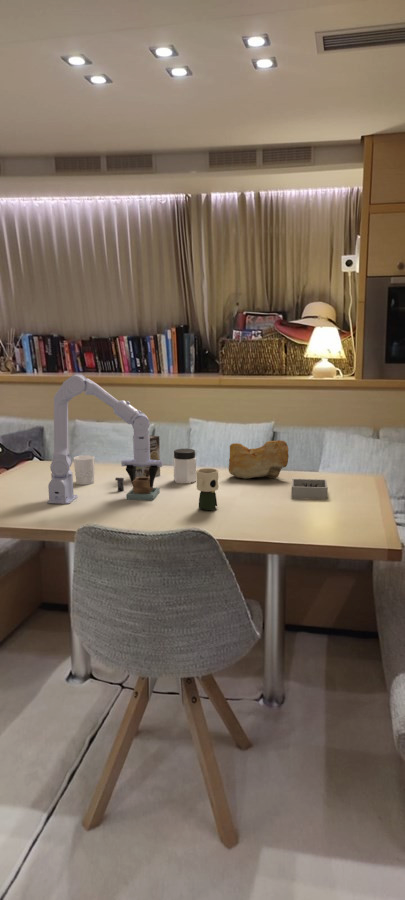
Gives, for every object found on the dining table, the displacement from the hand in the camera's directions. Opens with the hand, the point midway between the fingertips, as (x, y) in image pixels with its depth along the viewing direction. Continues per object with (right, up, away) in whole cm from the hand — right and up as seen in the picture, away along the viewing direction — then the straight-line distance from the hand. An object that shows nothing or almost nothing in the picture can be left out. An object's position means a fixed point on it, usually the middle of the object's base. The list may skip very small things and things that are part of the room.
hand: (143, 486), depth 220 cm
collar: (0, -2, 0) cm, 2 cm away
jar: (+14, +1, +20) cm, 25 cm away
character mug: (+23, -7, -16) cm, 28 cm away
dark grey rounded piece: (-9, -2, +8) cm, 12 cm away
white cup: (-24, 0, +20) cm, 32 cm away
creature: (+60, -3, +1) cm, 60 cm away
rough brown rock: (+44, +2, +27) cm, 51 cm away
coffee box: (-1, +2, +28) cm, 28 cm away
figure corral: (+59, -3, 0) cm, 59 cm away
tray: (0, -4, +1) cm, 4 cm away
